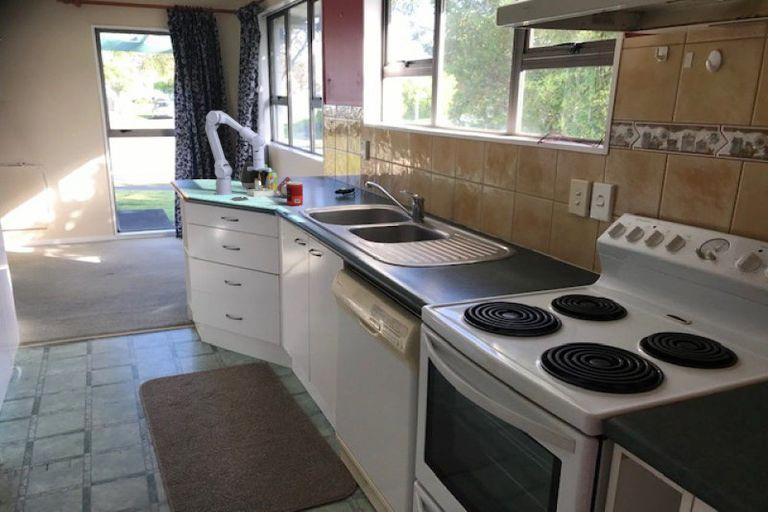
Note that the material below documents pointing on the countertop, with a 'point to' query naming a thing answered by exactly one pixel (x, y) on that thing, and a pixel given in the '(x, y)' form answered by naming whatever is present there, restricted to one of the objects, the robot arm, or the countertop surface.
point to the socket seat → (239, 199)
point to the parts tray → (260, 192)
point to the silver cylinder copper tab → (258, 185)
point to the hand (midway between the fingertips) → (259, 184)
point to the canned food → (294, 193)
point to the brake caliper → (283, 188)
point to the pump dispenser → (247, 176)
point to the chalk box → (271, 180)
